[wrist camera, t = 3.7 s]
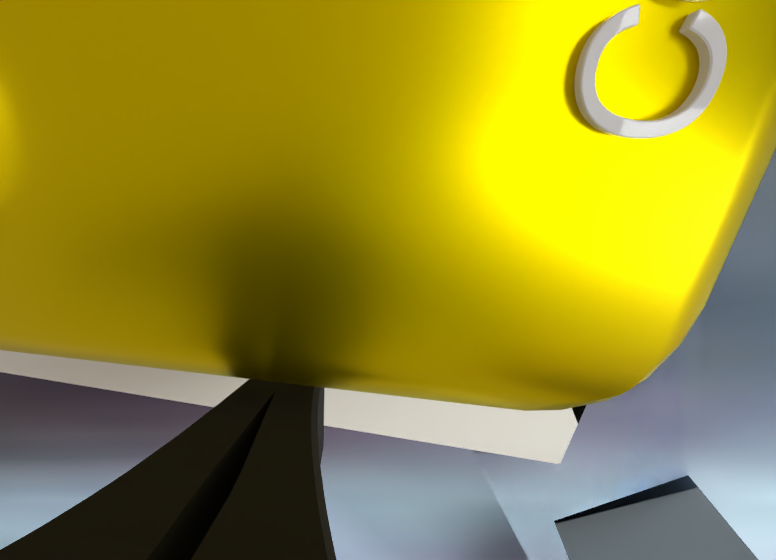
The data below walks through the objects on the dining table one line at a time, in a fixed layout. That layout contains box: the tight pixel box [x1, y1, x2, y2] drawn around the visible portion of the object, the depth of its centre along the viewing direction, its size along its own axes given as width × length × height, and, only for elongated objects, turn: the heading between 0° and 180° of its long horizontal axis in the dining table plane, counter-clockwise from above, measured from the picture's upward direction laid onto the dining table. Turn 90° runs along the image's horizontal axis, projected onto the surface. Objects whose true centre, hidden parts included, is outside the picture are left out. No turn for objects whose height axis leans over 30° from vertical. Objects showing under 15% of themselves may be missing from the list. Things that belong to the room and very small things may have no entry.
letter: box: [0, 350, 586, 464], centre depth 9 cm, size 24×18×1 cm
